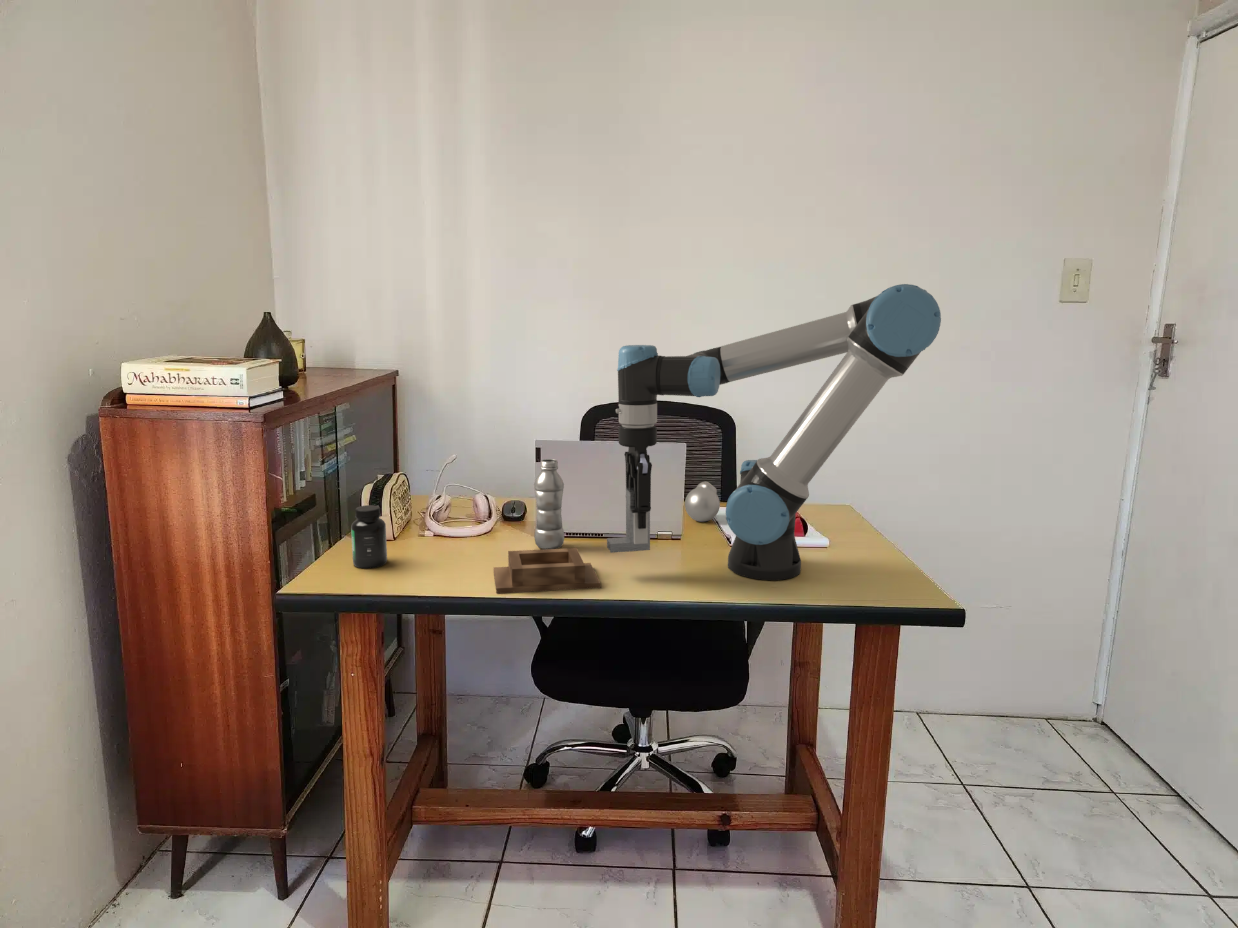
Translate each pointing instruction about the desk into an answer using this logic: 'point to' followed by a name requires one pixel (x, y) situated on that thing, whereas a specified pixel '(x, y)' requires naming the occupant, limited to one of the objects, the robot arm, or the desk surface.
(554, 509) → the plastic bottle
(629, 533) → the bracket
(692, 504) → the silver pear shape
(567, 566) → the well
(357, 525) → the supplement bottle
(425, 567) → the desk surface
